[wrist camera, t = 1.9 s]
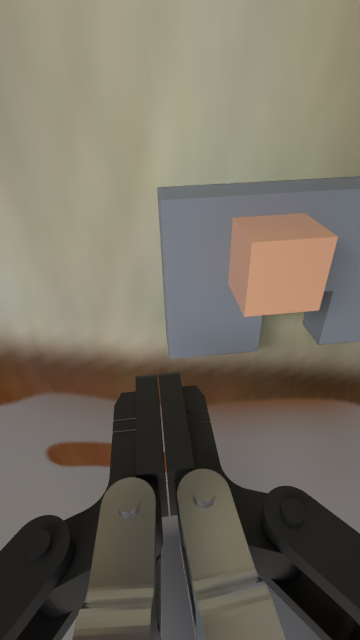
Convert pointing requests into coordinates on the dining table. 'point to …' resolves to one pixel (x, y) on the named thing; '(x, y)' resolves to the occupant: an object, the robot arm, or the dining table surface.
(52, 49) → the dining table surface
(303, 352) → the dining table surface
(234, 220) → the block
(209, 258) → the board
